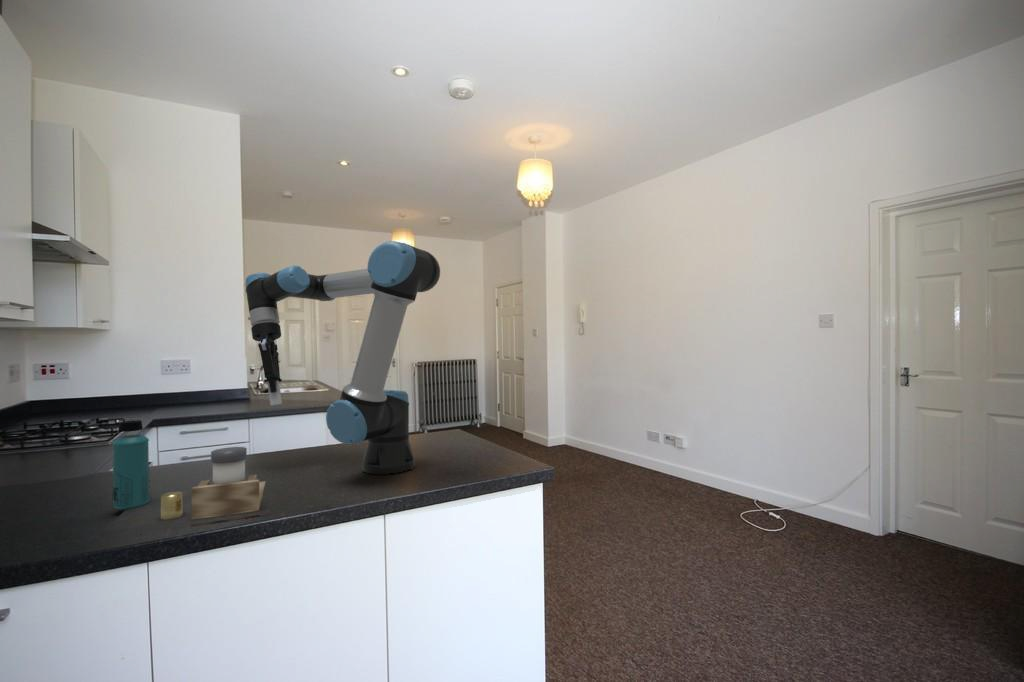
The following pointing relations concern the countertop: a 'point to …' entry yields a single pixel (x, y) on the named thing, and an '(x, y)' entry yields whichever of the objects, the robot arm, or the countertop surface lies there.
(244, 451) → the grey-lidded white jar
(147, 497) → the beverage bottle
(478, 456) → the countertop surface
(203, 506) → the mount
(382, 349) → the robot arm
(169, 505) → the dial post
